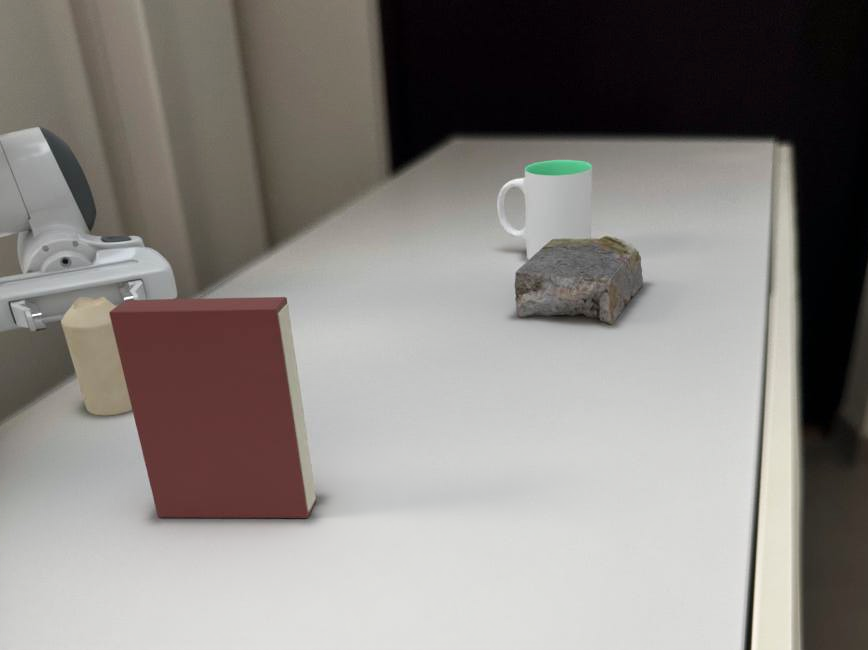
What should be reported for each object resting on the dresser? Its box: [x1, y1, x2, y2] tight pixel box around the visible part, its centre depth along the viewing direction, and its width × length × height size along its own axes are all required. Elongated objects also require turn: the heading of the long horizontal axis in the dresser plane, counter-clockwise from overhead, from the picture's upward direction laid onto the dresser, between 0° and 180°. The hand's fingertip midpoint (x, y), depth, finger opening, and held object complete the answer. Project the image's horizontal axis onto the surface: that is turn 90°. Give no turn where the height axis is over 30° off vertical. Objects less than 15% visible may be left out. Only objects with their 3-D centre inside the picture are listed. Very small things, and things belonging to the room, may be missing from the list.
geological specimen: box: [514, 235, 644, 325], centre depth 116 cm, size 11×6×15 cm
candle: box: [60, 297, 133, 416], centre depth 98 cm, size 6×6×10 cm
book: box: [109, 296, 317, 519], centre depth 78 cm, size 12×3×16 cm, turn 85°
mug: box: [496, 159, 593, 261], centre depth 130 cm, size 12×8×10 cm, turn 71°
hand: (85, 314), depth 105 cm, fingers open, 8 cm apart
